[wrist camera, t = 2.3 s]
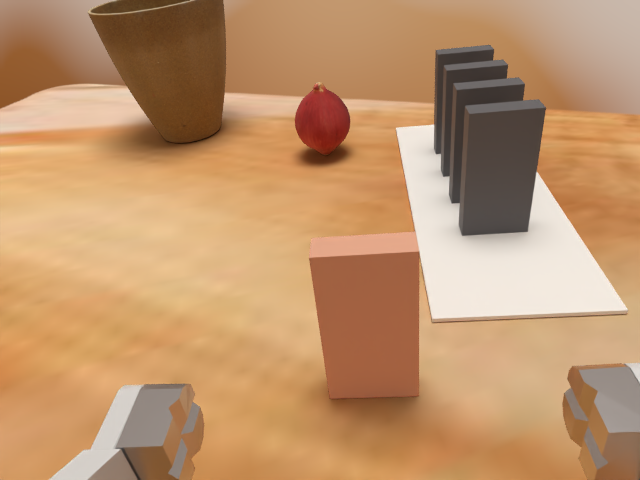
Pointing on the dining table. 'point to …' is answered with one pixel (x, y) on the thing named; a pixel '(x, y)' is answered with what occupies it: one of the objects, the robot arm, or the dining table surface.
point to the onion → (322, 120)
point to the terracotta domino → (368, 313)
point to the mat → (497, 252)
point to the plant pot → (169, 60)
